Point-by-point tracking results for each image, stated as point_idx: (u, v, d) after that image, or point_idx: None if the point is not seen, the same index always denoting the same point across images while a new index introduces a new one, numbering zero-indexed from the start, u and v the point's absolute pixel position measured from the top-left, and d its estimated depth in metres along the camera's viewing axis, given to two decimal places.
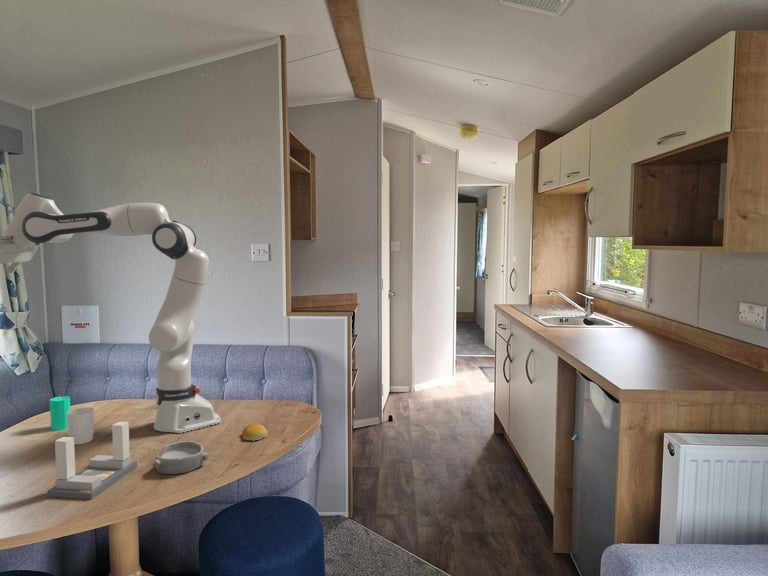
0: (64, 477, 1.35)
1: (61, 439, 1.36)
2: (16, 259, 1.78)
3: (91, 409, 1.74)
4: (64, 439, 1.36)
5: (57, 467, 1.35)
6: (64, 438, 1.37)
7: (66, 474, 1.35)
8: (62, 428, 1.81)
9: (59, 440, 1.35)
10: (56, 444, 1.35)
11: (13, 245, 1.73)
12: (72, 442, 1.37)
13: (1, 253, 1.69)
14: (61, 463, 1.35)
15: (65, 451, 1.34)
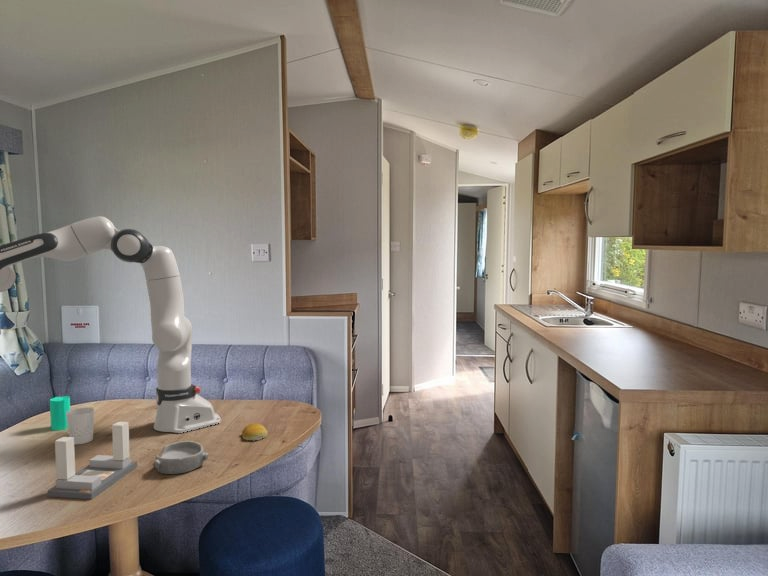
0: (64, 477, 1.35)
1: (61, 439, 1.36)
2: None
3: (91, 409, 1.74)
4: (64, 439, 1.36)
5: (57, 467, 1.35)
6: (64, 438, 1.37)
7: (66, 474, 1.35)
8: (62, 428, 1.81)
9: (59, 440, 1.35)
10: (56, 444, 1.35)
11: None
12: (72, 442, 1.37)
13: None
14: (61, 463, 1.35)
15: (65, 451, 1.34)
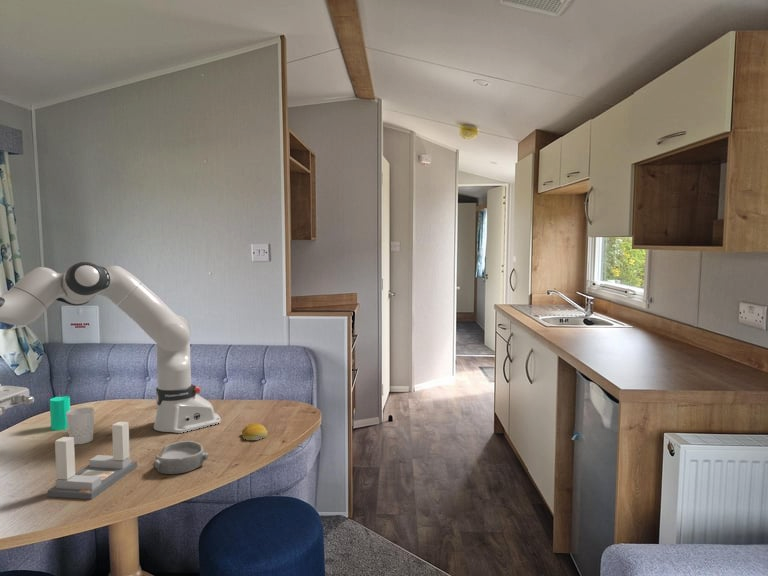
0: (64, 477, 1.35)
1: (61, 439, 1.36)
2: (0, 396, 1.38)
3: (91, 409, 1.74)
4: (64, 439, 1.36)
5: (57, 467, 1.35)
6: (64, 438, 1.37)
7: (66, 474, 1.35)
8: (62, 428, 1.81)
9: (59, 440, 1.35)
10: (56, 444, 1.35)
11: None
12: (72, 442, 1.37)
13: None
14: (61, 463, 1.35)
15: (65, 451, 1.34)
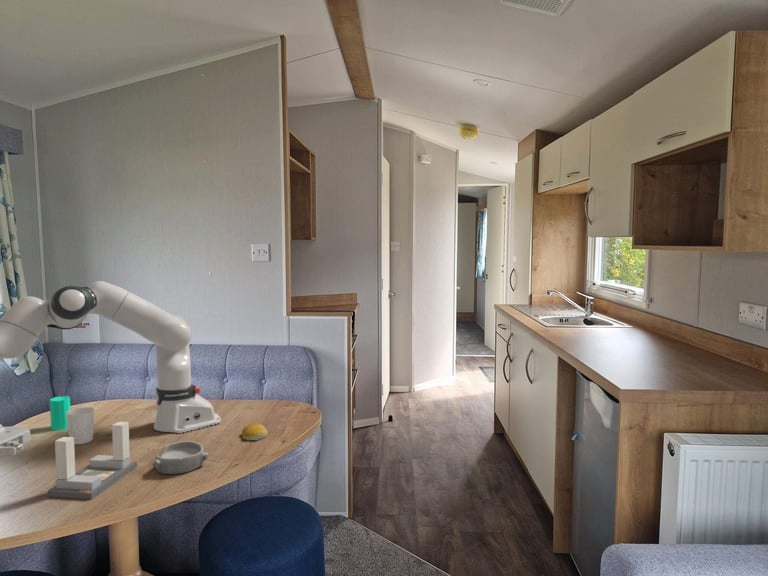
0: (64, 477, 1.35)
1: (61, 439, 1.36)
2: (1, 439, 1.39)
3: (91, 409, 1.74)
4: (64, 439, 1.36)
5: (57, 467, 1.35)
6: (64, 438, 1.37)
7: (66, 474, 1.35)
8: (62, 428, 1.81)
9: (59, 440, 1.35)
10: (56, 444, 1.35)
11: None
12: (72, 442, 1.37)
13: None
14: (61, 463, 1.35)
15: (65, 451, 1.34)
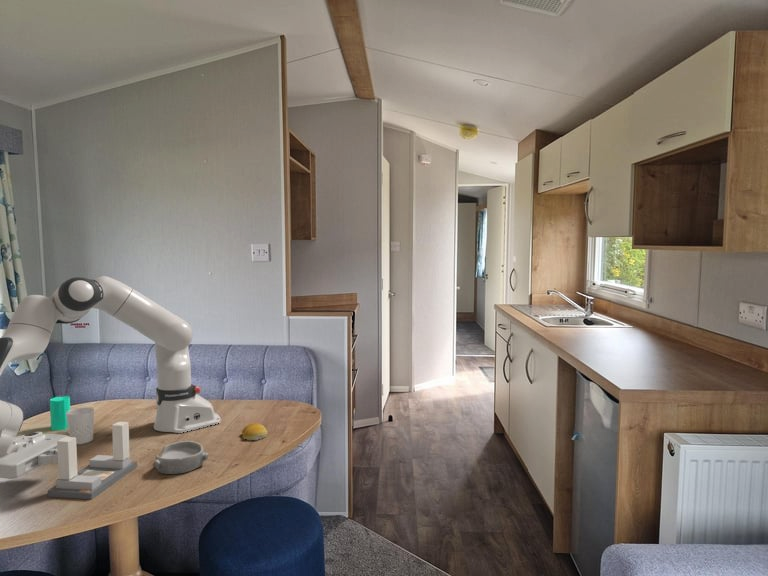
0: (66, 477, 1.35)
1: (63, 439, 1.36)
2: (43, 447, 1.38)
3: (91, 409, 1.74)
4: (66, 439, 1.35)
5: (59, 467, 1.35)
6: (66, 438, 1.37)
7: (68, 474, 1.35)
8: (62, 428, 1.81)
9: (61, 440, 1.35)
10: (58, 444, 1.34)
11: (8, 454, 1.33)
12: (74, 442, 1.37)
13: (4, 462, 1.29)
14: (63, 463, 1.35)
15: (68, 451, 1.34)
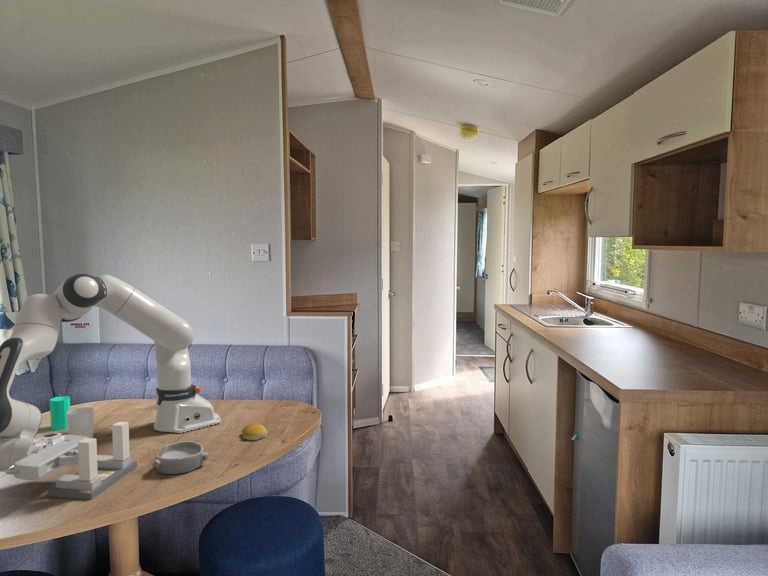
0: (87, 478, 1.34)
1: (84, 440, 1.35)
2: (63, 448, 1.37)
3: (91, 409, 1.74)
4: (87, 440, 1.35)
5: (80, 468, 1.34)
6: (86, 439, 1.36)
7: (89, 475, 1.34)
8: (62, 428, 1.81)
9: (82, 441, 1.34)
10: (79, 445, 1.34)
11: (28, 455, 1.33)
12: (94, 443, 1.36)
13: (25, 463, 1.28)
14: (84, 464, 1.34)
15: (88, 453, 1.34)
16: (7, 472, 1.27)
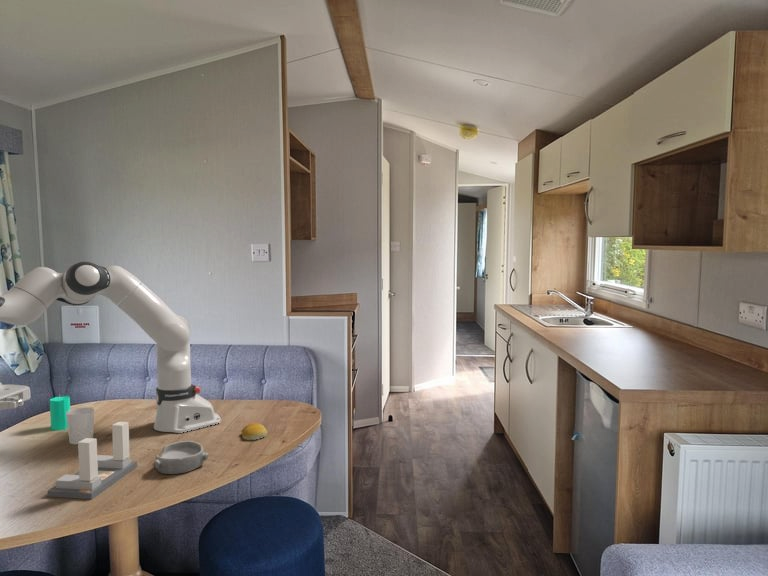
0: (87, 478, 1.34)
1: (84, 440, 1.35)
2: (1, 395, 1.38)
3: (91, 409, 1.74)
4: (87, 440, 1.35)
5: (80, 468, 1.34)
6: (87, 439, 1.36)
7: (89, 475, 1.34)
8: (62, 428, 1.81)
9: (82, 441, 1.34)
10: (79, 445, 1.34)
11: None
12: (95, 443, 1.36)
13: None
14: (84, 464, 1.34)
15: (89, 453, 1.34)
16: None
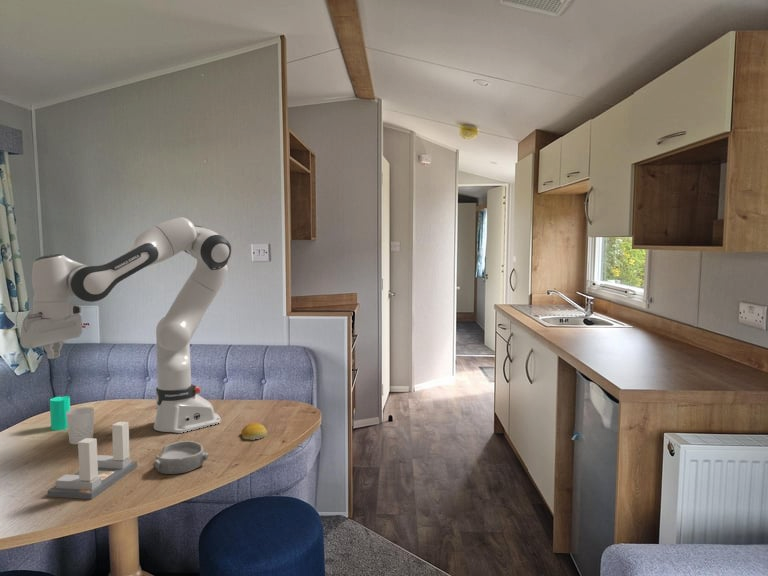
0: (87, 478, 1.34)
1: (84, 440, 1.35)
2: (61, 336, 1.53)
3: (91, 409, 1.74)
4: (87, 440, 1.35)
5: (80, 468, 1.34)
6: (87, 439, 1.36)
7: (89, 475, 1.34)
8: (62, 428, 1.81)
9: (82, 441, 1.34)
10: (79, 445, 1.34)
11: (46, 321, 1.47)
12: (95, 443, 1.36)
13: (35, 333, 1.43)
14: (84, 464, 1.34)
15: (89, 453, 1.34)
16: (24, 322, 1.41)
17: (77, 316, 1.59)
